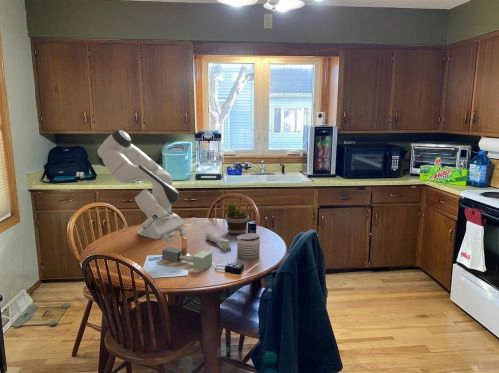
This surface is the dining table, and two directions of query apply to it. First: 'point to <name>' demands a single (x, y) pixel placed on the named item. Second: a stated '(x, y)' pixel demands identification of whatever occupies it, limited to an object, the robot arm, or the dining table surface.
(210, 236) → the grey-green long bar
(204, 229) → the dining table surface
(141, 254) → the dining table surface
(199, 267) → the socket block
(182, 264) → the base board
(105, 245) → the dining table surface
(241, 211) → the flowerpot
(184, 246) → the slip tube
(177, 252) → the dark grey rectangular block
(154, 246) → the dining table surface
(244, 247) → the can
